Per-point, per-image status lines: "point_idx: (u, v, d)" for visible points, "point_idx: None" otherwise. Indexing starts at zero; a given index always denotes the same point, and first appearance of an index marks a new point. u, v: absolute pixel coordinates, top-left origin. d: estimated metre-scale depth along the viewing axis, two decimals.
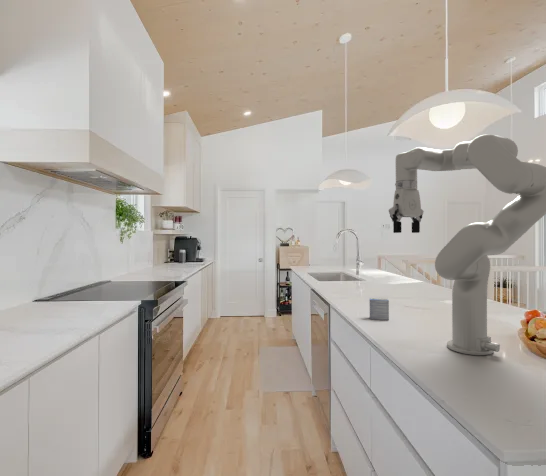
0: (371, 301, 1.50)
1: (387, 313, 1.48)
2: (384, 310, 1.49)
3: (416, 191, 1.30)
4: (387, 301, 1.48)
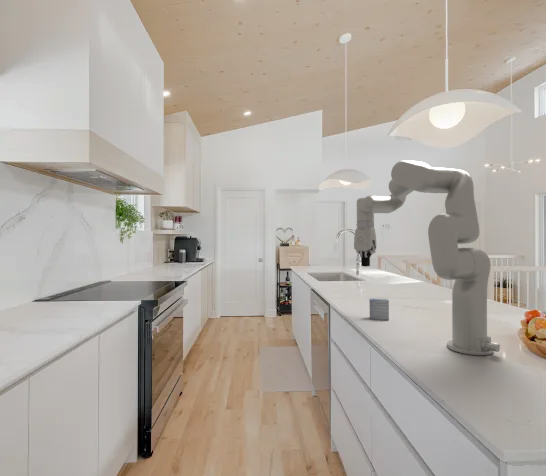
0: (371, 301, 1.50)
1: (387, 313, 1.48)
2: (384, 310, 1.49)
3: (364, 229, 1.55)
4: (387, 301, 1.48)
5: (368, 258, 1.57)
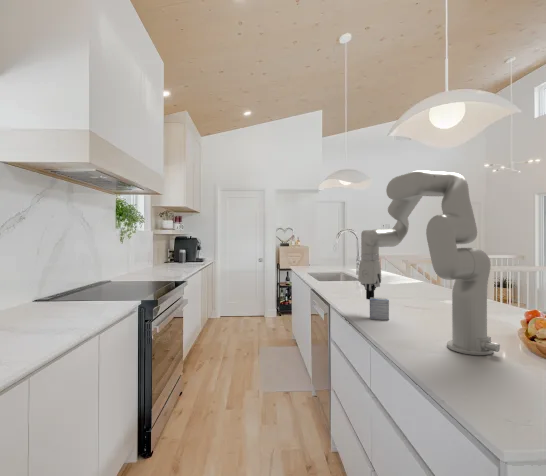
0: (371, 301, 1.50)
1: (387, 313, 1.48)
2: (384, 309, 1.49)
3: (369, 262, 1.53)
4: (387, 301, 1.48)
5: (372, 291, 1.55)
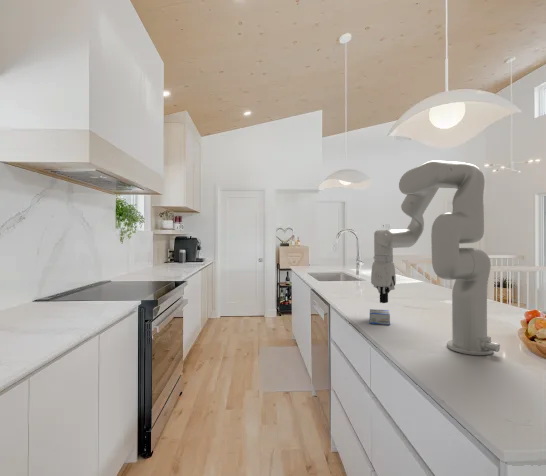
0: (372, 323, 1.43)
1: None
2: None
3: (383, 264, 1.46)
4: (388, 324, 1.41)
5: (386, 294, 1.48)
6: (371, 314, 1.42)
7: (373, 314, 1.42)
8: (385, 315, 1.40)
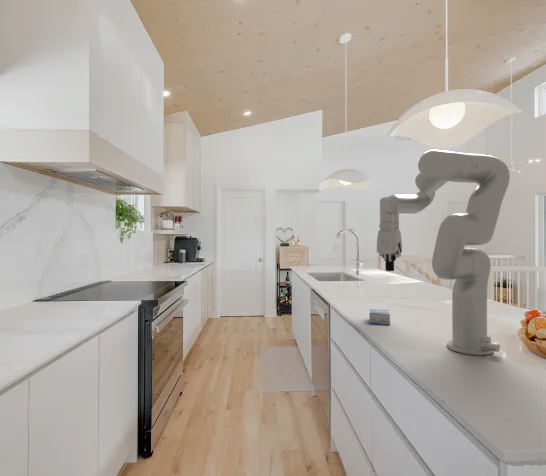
0: (372, 323, 1.43)
1: None
2: None
3: (389, 231, 1.43)
4: (388, 324, 1.41)
5: (392, 262, 1.45)
6: (371, 314, 1.42)
7: (373, 314, 1.42)
8: (385, 315, 1.40)
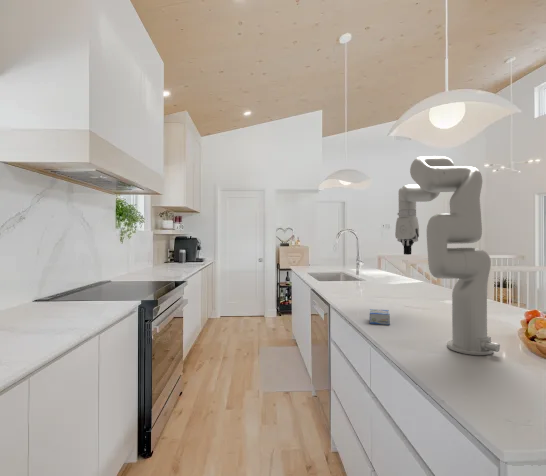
0: (372, 323, 1.43)
1: None
2: None
3: (407, 218, 1.58)
4: (388, 324, 1.41)
5: (410, 246, 1.60)
6: (371, 314, 1.42)
7: (373, 314, 1.42)
8: (385, 315, 1.40)
